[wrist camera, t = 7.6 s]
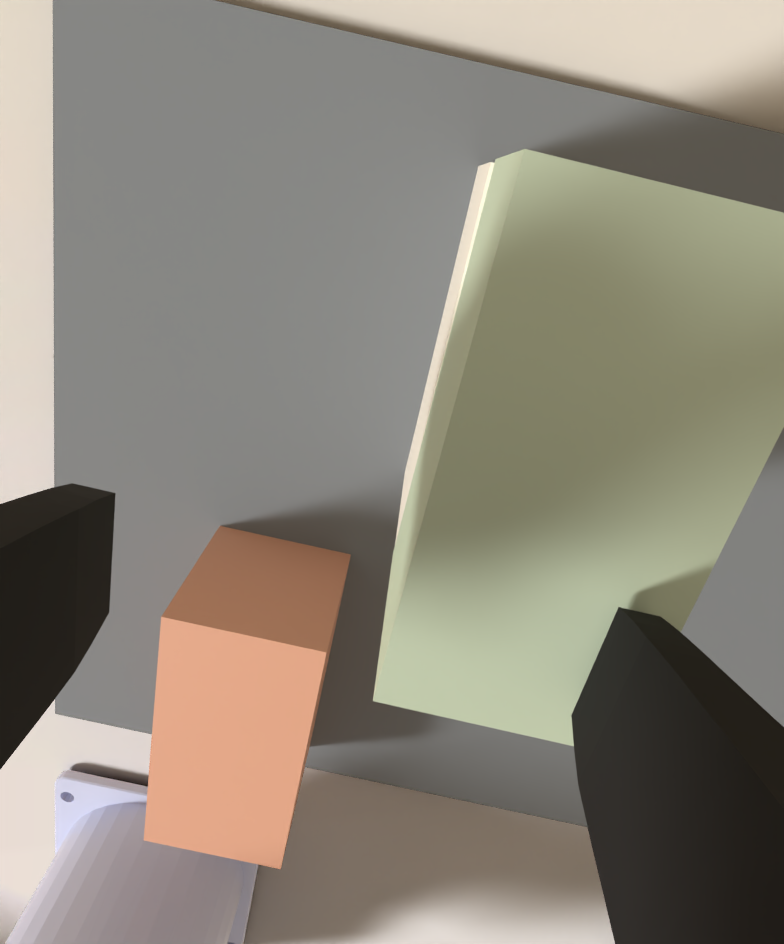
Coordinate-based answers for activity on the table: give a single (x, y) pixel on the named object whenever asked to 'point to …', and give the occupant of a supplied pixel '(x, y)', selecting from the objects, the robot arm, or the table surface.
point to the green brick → (581, 436)
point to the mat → (320, 336)
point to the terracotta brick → (240, 694)
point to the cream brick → (447, 320)
